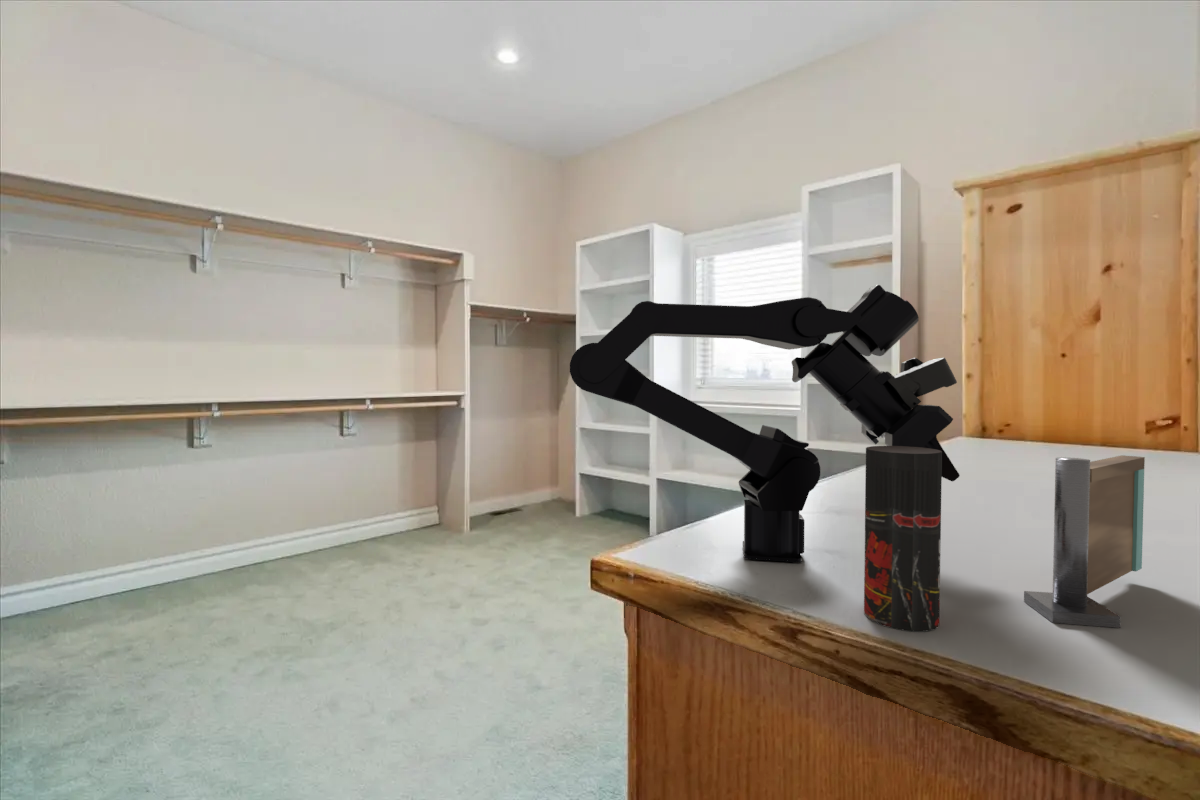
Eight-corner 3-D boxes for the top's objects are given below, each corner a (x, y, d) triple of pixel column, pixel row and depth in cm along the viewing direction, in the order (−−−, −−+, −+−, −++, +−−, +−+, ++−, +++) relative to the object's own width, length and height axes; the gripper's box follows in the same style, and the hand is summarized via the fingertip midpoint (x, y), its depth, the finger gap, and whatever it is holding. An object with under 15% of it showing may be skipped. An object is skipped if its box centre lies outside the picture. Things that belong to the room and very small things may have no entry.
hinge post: (1052, 622, 50) (1056, 462, 49) (1023, 601, 55) (1026, 454, 54) (1120, 627, 49) (1124, 463, 48) (1084, 605, 54) (1088, 456, 53)
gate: (1064, 590, 53) (1067, 466, 53) (1119, 563, 61) (1121, 455, 61) (1088, 596, 52) (1091, 468, 51) (1141, 568, 60) (1144, 457, 59)
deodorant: (950, 634, 48) (953, 454, 47) (873, 628, 49) (875, 452, 48) (925, 606, 54) (927, 446, 53) (857, 602, 55) (858, 445, 54)
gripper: (932, 326, 58) (1055, 438, 56) (889, 339, 76) (981, 424, 74) (846, 403, 61) (962, 513, 58) (825, 398, 79) (912, 482, 76)
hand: (955, 478), depth 66 cm, fingers closed
